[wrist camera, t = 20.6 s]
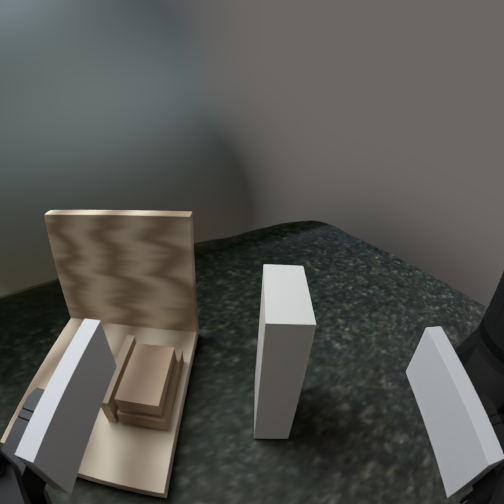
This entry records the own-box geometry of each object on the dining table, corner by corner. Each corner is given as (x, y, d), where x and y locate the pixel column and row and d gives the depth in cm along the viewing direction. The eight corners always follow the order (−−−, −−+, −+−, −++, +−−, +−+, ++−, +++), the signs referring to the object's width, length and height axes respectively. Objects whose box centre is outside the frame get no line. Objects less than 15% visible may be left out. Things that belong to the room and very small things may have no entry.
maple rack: (198, 333, 43) (192, 211, 35) (166, 498, 22) (111, 389, 14) (77, 319, 43) (50, 210, 35) (6, 448, 22) (-80, 327, 14)
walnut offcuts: (183, 361, 37) (180, 337, 35) (168, 431, 28) (161, 410, 26) (144, 357, 37) (138, 333, 35) (121, 423, 28) (111, 401, 26)
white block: (284, 382, 36) (302, 266, 29) (288, 438, 29) (316, 324, 22) (254, 381, 36) (263, 264, 29) (253, 438, 29) (265, 323, 22)
